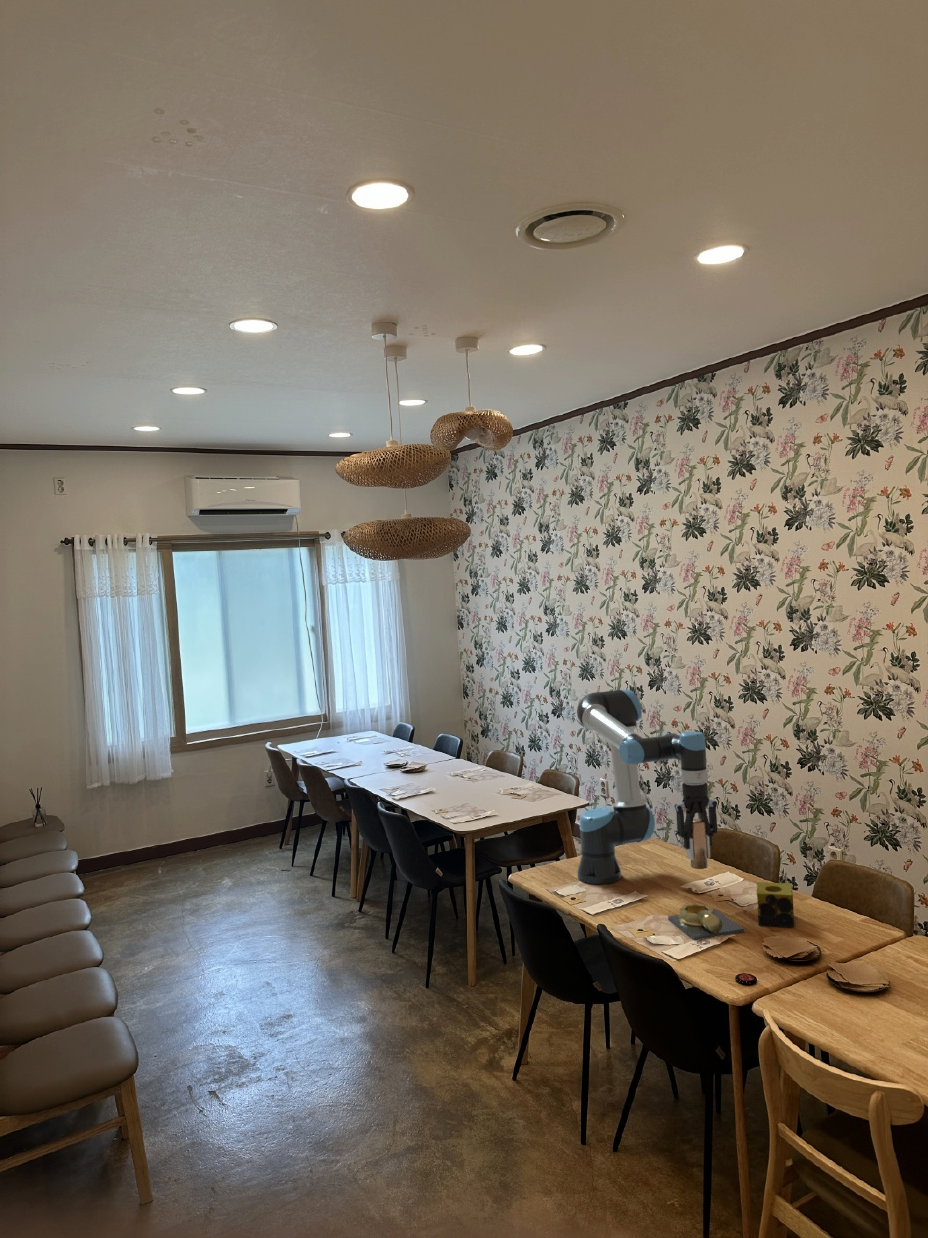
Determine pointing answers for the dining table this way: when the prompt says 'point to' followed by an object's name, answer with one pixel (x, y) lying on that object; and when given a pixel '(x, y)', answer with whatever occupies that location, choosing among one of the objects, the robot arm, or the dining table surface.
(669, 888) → the dining table surface
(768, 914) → the olive cube piece
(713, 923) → the fitting base
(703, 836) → the pipe stub
